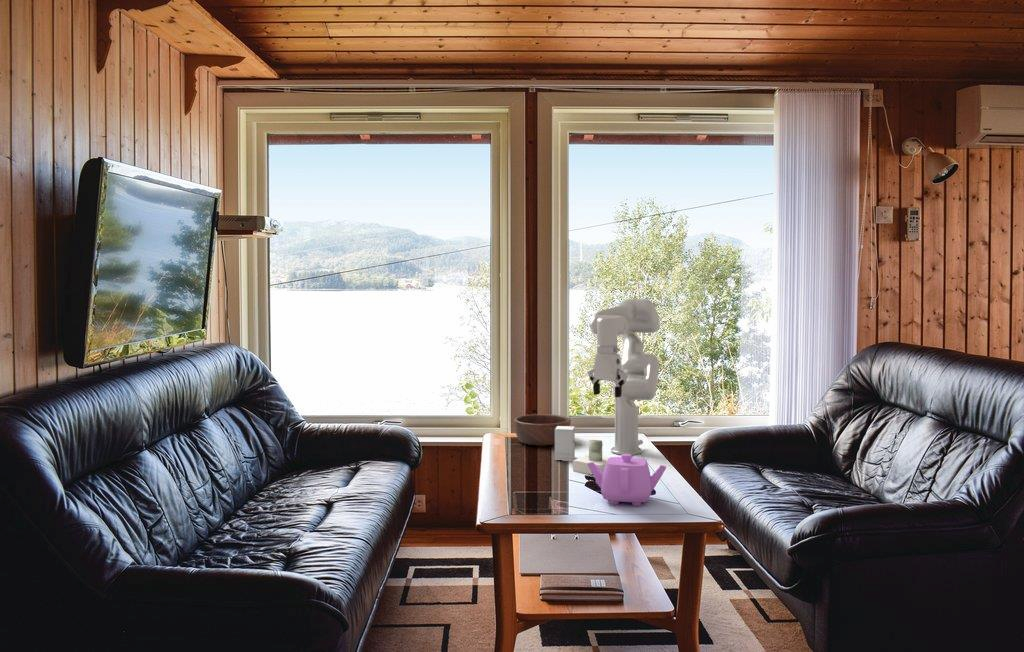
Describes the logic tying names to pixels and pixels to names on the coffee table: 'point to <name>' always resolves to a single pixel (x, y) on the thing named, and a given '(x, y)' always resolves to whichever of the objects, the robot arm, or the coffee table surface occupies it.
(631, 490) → the teapot
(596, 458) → the green domed cylinder
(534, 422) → the wooden bowl
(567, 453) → the supplement box
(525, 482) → the coffee table surface
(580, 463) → the base
